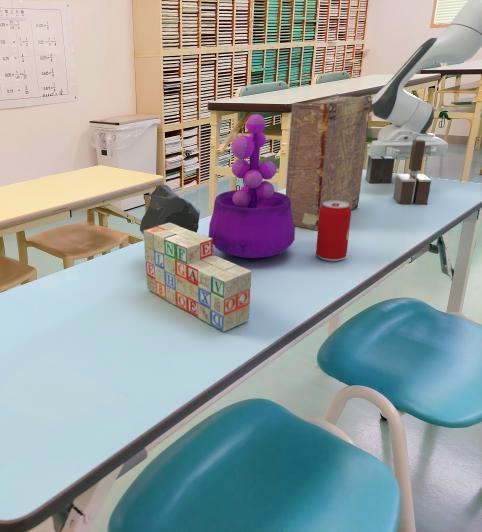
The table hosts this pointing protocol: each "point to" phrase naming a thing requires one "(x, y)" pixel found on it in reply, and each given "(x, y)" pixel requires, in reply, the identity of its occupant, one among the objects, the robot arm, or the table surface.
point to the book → (325, 154)
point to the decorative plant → (252, 204)
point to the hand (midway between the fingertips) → (415, 153)
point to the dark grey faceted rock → (169, 211)
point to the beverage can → (333, 230)
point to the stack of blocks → (196, 276)
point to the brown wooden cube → (411, 189)
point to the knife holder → (379, 169)
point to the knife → (416, 159)
